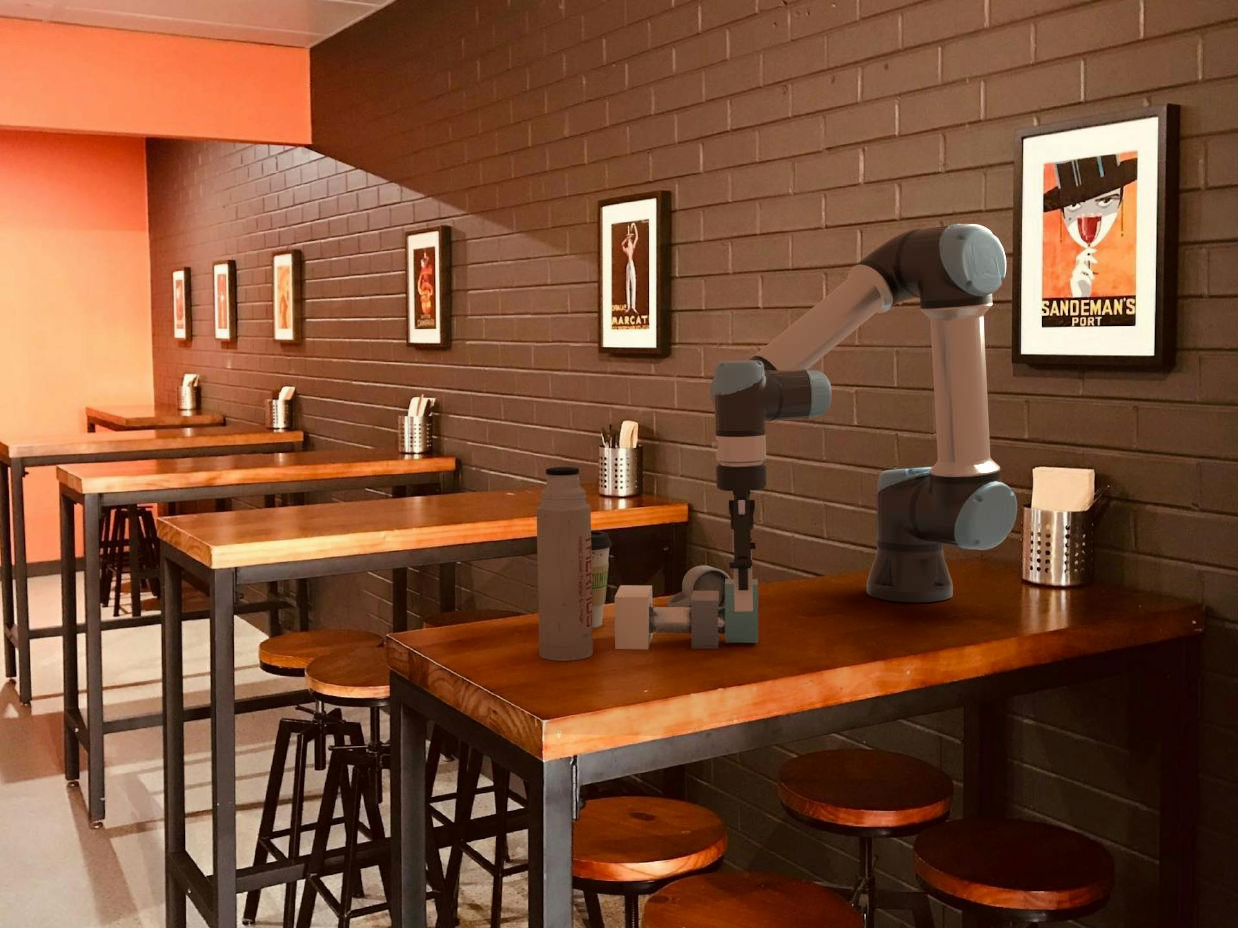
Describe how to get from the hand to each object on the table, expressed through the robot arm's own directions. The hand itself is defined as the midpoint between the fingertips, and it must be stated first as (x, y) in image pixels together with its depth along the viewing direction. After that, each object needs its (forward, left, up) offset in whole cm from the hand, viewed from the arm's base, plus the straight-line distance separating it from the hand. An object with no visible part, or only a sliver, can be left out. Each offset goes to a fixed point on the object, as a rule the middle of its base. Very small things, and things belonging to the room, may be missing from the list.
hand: (743, 601), depth 194 cm
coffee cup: (+26, -12, -7) cm, 30 cm away
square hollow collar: (+6, 0, -7) cm, 9 cm away
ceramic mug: (+8, -24, -7) cm, 26 cm away
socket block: (+17, 0, -7) cm, 18 cm away
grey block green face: (+8, 0, -6) cm, 10 cm away
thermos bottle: (+26, +8, -7) cm, 28 cm away
